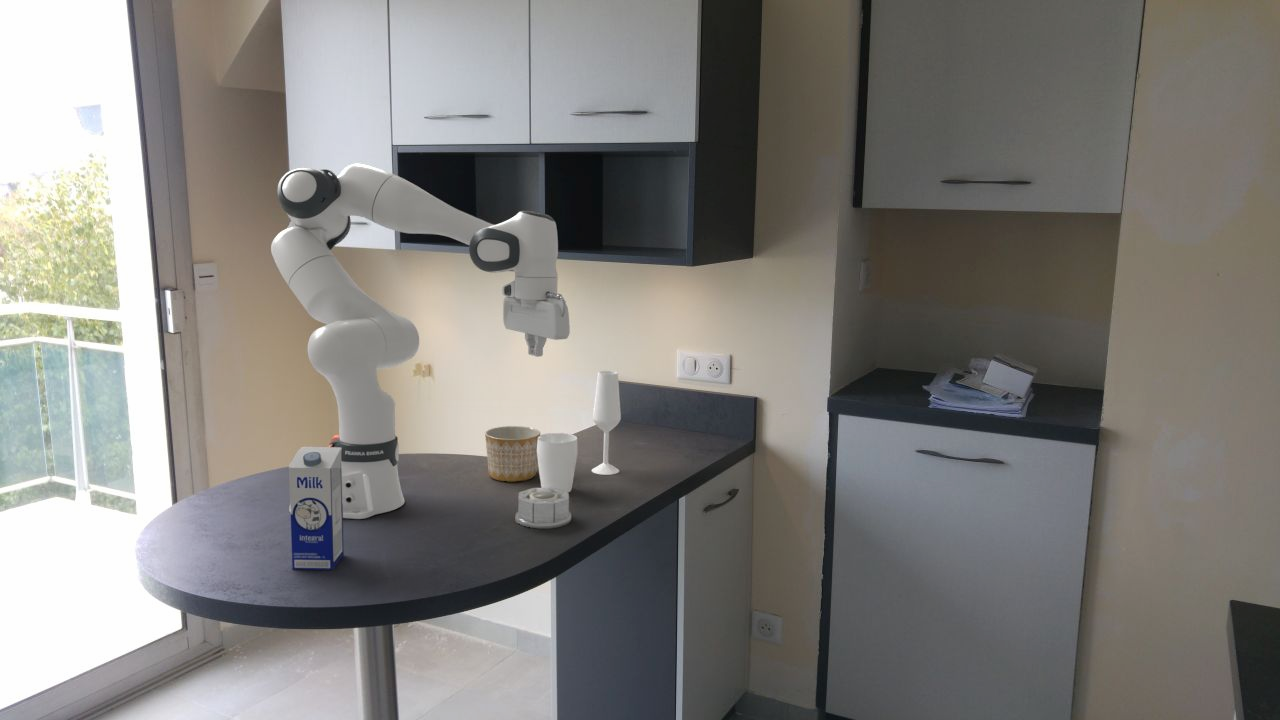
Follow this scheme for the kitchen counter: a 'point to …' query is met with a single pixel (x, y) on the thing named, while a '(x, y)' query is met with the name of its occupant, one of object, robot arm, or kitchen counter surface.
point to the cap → (543, 496)
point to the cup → (557, 460)
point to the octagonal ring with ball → (543, 510)
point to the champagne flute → (606, 413)
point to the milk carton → (316, 508)
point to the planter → (512, 453)
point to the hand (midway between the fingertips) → (535, 355)
